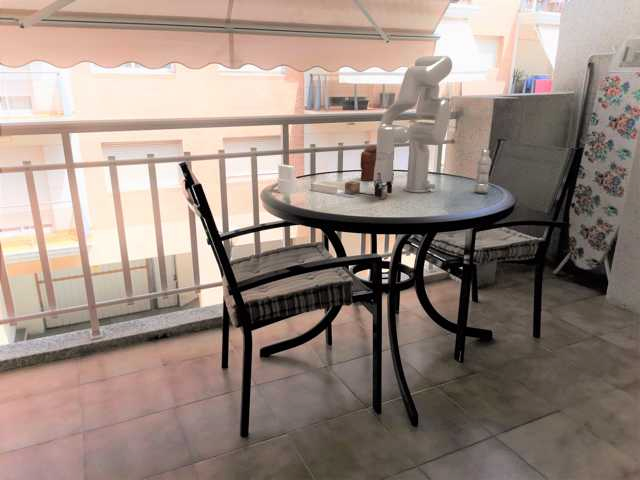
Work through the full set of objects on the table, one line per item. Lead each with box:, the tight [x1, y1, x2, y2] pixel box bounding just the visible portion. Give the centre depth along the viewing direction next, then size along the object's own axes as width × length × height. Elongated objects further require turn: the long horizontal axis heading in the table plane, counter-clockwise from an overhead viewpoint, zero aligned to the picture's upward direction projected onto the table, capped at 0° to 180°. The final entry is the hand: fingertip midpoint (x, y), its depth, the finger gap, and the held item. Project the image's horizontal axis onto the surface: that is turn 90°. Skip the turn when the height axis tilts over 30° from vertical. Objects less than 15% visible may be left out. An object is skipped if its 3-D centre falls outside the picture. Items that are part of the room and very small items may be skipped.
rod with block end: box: [344, 180, 388, 200], centre depth 213 cm, size 20×5×6 cm, turn 55°
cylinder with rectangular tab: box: [277, 164, 298, 195], centre depth 221 cm, size 9×9×12 cm
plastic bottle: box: [473, 149, 492, 194], centre depth 219 cm, size 6×7×20 cm
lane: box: [310, 179, 345, 195], centre depth 224 cm, size 14×10×4 cm
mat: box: [335, 190, 366, 198], centre depth 218 cm, size 8×12×1 cm
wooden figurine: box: [359, 145, 377, 182], centre depth 246 cm, size 12×6×18 cm, turn 101°
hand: (383, 195), depth 209 cm, fingers open, 9 cm apart
